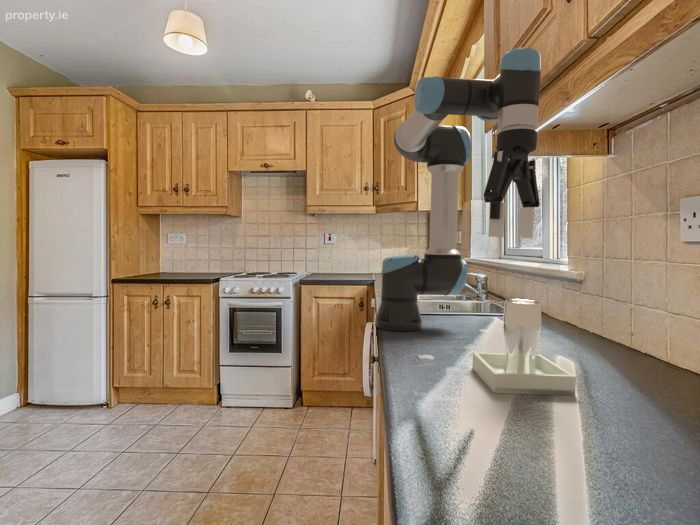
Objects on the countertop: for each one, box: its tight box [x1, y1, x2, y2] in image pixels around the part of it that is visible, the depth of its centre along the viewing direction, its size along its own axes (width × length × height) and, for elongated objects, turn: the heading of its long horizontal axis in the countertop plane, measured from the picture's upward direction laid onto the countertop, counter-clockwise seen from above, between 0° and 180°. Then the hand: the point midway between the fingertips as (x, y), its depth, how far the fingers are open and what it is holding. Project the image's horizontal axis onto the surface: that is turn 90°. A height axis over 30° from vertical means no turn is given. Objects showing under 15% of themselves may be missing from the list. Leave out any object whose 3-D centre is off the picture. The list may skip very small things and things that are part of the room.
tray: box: [472, 352, 577, 396], centre depth 81 cm, size 15×15×4 cm
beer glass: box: [502, 298, 542, 374], centre depth 81 cm, size 7×7×15 cm
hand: (511, 237), depth 83 cm, fingers open, 13 cm apart
